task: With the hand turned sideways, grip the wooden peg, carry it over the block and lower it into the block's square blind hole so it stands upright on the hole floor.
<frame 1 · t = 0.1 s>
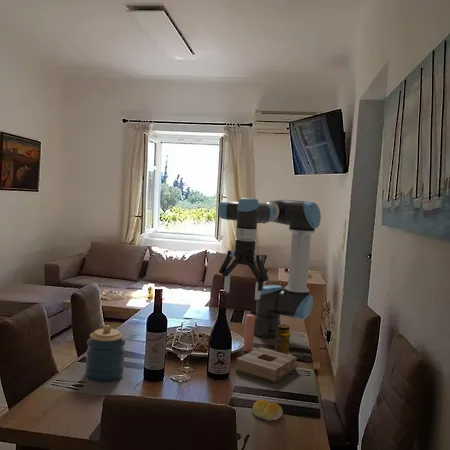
hand: (241, 296, 177), 28 cm above the table, tool pointing down, fingers open, 13 cm apart
peg: (247, 350, 200), on the table
canister: (104, 375, 163), on the table
bread roll: (267, 415, 143), on the table
socket block: (266, 370, 178), on the table
condiment: (279, 354, 199), on the table
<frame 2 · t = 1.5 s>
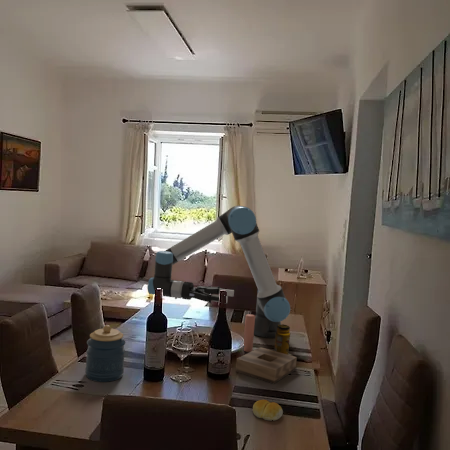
hand: (230, 296, 200), 22 cm above the table, tool horizontal, fingers open, 13 cm apart
nothing on the table moved.
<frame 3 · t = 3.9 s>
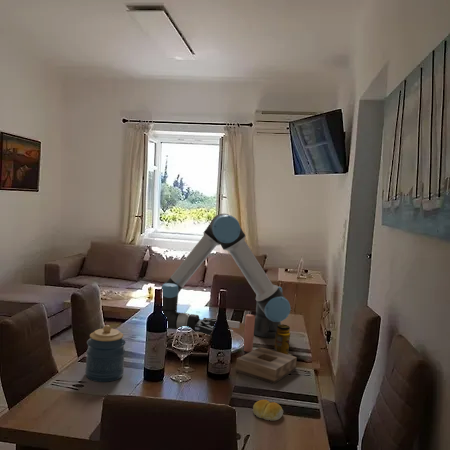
hand: (236, 329, 200), 8 cm above the table, tool horizontal, fingers open, 13 cm apart
nothing on the table moved.
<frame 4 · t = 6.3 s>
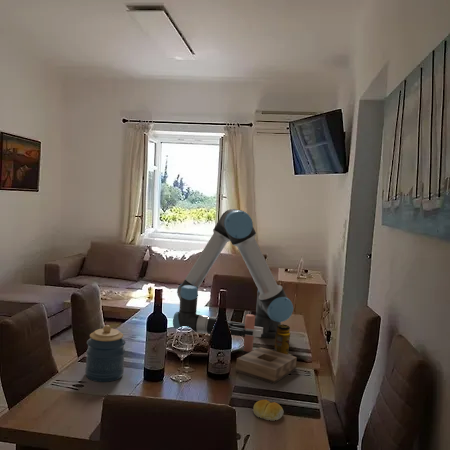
hand: (261, 332, 198), 9 cm above the table, tool horizontal, fingers closed on peg, 4 cm apart
peg: (247, 350, 200), on the table, touching gripper
everything else where it was.
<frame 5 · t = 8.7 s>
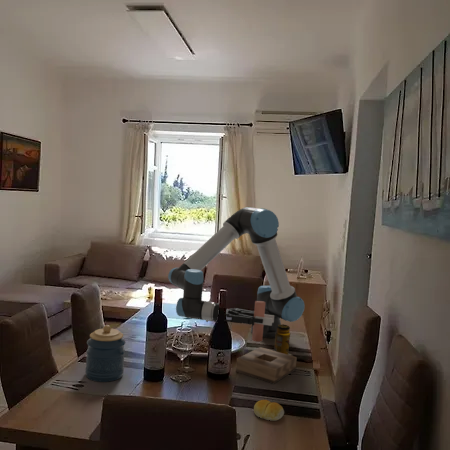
hand: (272, 320, 181), 18 cm above the table, tool horizontal, fingers closed on peg, 4 cm apart
peg: (257, 340, 183), point 10 cm above the table, touching gripper
everything else where it was.
when the fingers open (11 cm above the table, at t = 11.1 s): peg drops 1 cm, resting on socket block.
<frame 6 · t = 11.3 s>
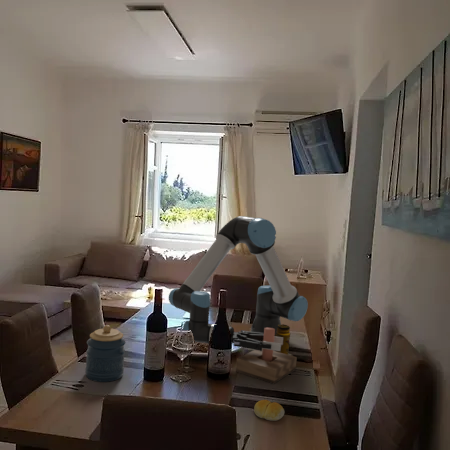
hand: (281, 344, 176), 11 cm above the table, tool horizontal, fingers open, 7 cm apart
peg: (266, 367, 178), point 1 cm above the table, touching socket block
everything else where it was.
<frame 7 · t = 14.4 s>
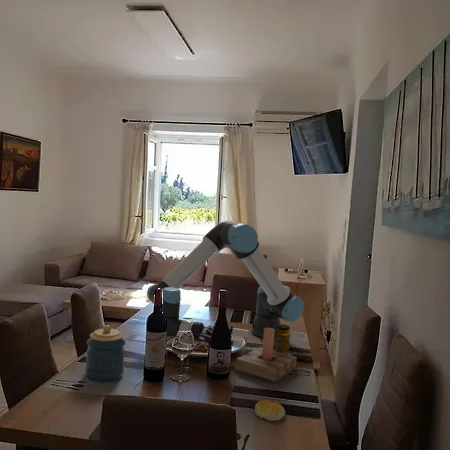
hand: (245, 338, 180), 11 cm above the table, tool horizontal, fingers open, 13 cm apart
nothing on the table moved.
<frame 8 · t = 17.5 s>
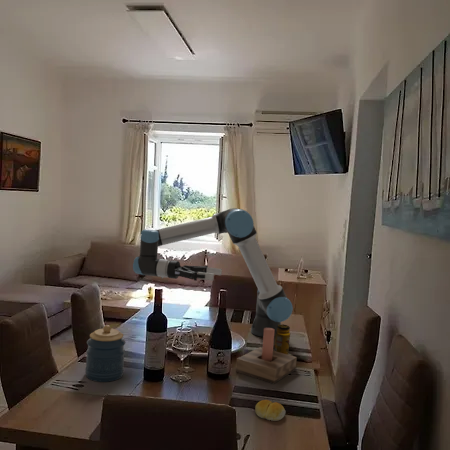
hand: (217, 274, 195), 32 cm above the table, tool horizontal, fingers open, 13 cm apart
nothing on the table moved.
at the end: peg 0.1 cm off-centre on the socket block, point 1.0 cm above the socket block's base; peg tilted 0°; the gripper is holding nothing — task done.
